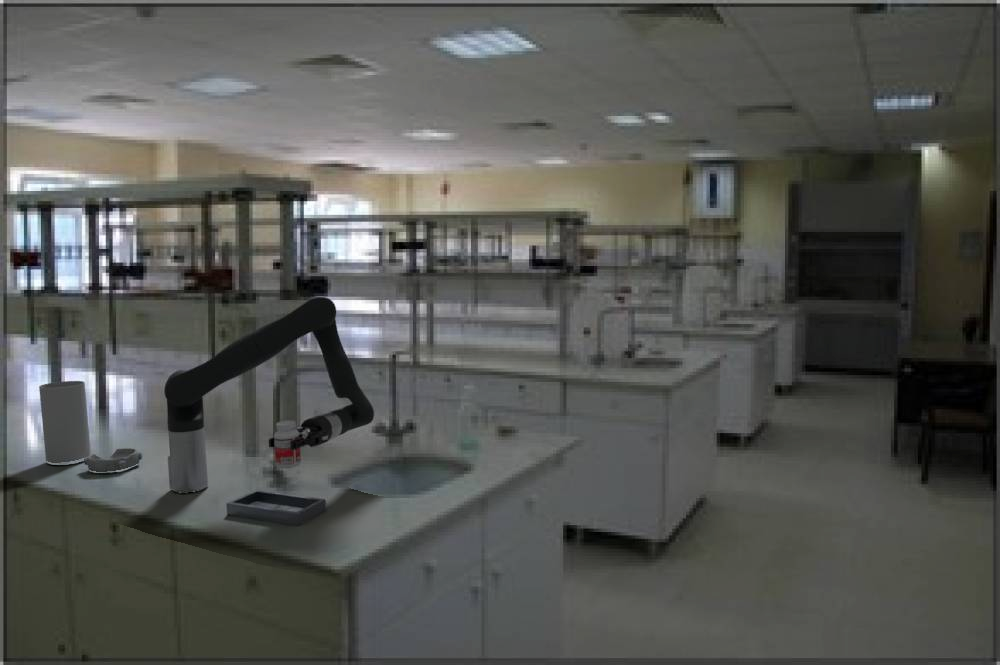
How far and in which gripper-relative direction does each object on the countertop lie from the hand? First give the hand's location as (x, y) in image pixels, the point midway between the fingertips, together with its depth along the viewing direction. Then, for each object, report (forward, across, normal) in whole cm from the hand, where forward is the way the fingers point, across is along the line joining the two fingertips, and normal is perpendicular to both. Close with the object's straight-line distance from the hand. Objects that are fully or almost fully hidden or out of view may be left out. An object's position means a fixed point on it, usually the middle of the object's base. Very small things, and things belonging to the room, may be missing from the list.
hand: (280, 444), depth 185 cm
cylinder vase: (-15, -98, +18) cm, 101 cm away
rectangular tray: (+1, -2, +18) cm, 18 cm away
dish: (-14, -76, +18) cm, 79 cm away
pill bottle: (-2, 0, +6) cm, 7 cm away
